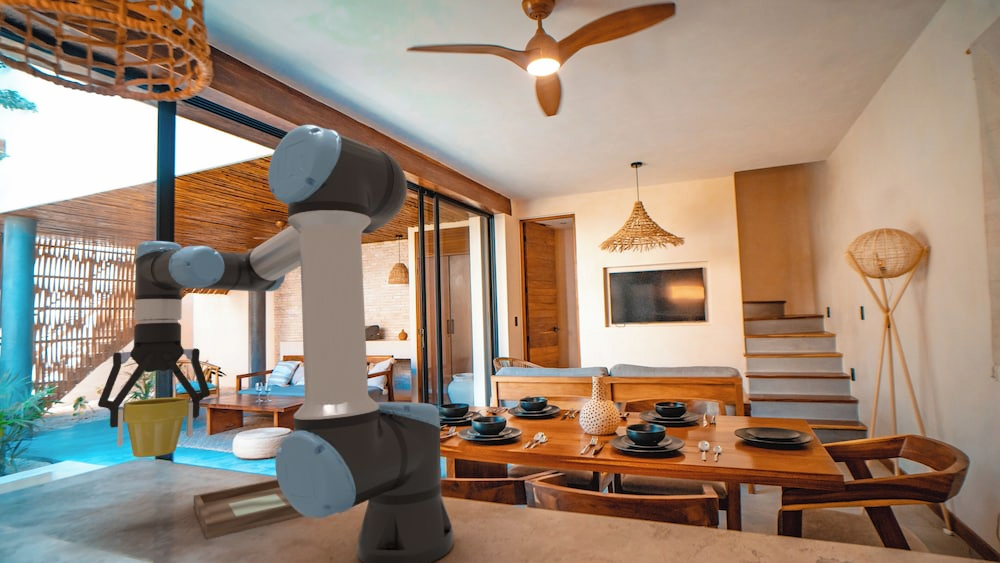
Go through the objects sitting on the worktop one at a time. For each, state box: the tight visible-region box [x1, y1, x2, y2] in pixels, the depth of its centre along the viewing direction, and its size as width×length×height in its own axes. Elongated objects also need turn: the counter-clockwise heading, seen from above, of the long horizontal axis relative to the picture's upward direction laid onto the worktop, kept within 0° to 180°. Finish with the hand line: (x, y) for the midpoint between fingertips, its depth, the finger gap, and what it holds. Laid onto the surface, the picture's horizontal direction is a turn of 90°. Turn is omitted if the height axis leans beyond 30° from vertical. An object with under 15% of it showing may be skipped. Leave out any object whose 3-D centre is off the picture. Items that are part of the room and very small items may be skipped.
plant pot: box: [122, 396, 190, 458], centre depth 96 cm, size 10×10×10 cm
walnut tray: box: [193, 479, 305, 540], centre depth 102 cm, size 20×20×2 cm
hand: (155, 440), depth 96 cm, fingers closed on plant pot, 10 cm apart
